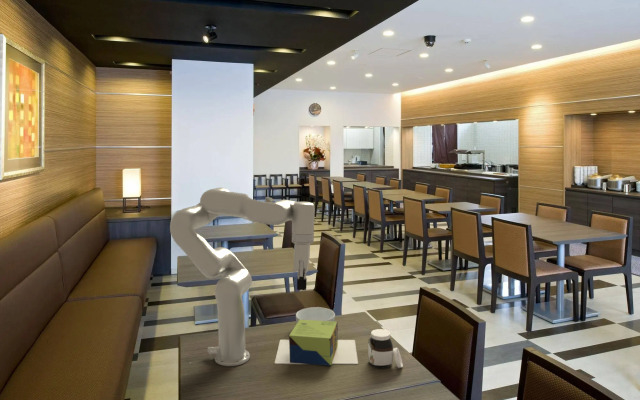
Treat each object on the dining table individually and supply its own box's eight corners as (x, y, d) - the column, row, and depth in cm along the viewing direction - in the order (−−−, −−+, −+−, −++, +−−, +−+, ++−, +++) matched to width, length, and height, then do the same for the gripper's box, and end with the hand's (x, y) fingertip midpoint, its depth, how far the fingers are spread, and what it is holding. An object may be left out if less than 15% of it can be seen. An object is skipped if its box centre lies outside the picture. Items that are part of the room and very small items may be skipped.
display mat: (274, 363, 165) (274, 363, 165) (280, 340, 185) (280, 339, 185) (358, 364, 165) (358, 363, 165) (354, 340, 185) (354, 339, 185)
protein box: (331, 338, 161) (337, 321, 176) (288, 335, 164) (298, 318, 179) (331, 366, 163) (338, 347, 178) (289, 363, 166) (299, 344, 181)
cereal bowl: (293, 323, 203) (293, 308, 202) (330, 321, 206) (330, 305, 205) (298, 339, 186) (298, 322, 185) (339, 336, 189) (339, 319, 188)
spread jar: (365, 358, 169) (365, 328, 168) (394, 355, 172) (394, 325, 170) (377, 374, 158) (377, 342, 156) (407, 370, 160) (408, 338, 159)
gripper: (293, 233, 166) (292, 282, 168) (290, 242, 151) (289, 296, 153) (314, 233, 166) (313, 283, 168) (312, 242, 151) (311, 296, 153)
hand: (301, 289), depth 161 cm, fingers closed
